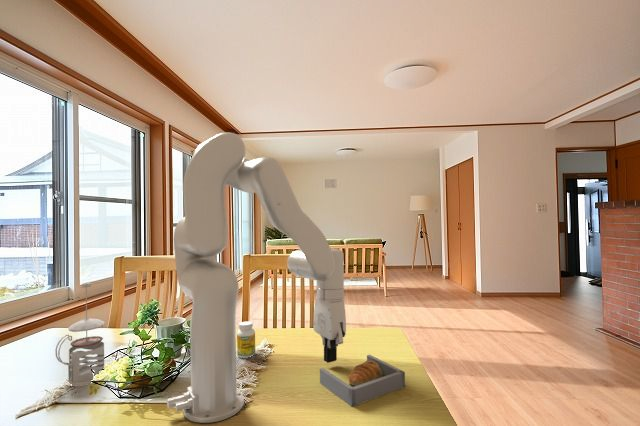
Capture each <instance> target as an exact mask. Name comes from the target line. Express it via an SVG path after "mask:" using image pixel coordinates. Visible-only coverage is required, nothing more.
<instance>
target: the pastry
mask: <svg viewBox="0 0 640 426" xmlns="http://www.w3.org/2000/svg"><path fill="white" fill-rule="evenodd" d="M382 376H383V373H382V371H381V369H380V367H379V365H378V364H377V363H376V362H374V361H367V360H366V361H364V362H363V363H359V364H357V365H356V366H355V367H354V368H353V369H352V370H351V372H350V374H349V376H348V385H349V384H350V385H352V386H354V387H355V386H358V385H361V384H364V383H367V382H370V381H372V380H375V379H378V378H381V377H382Z"/></svg>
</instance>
